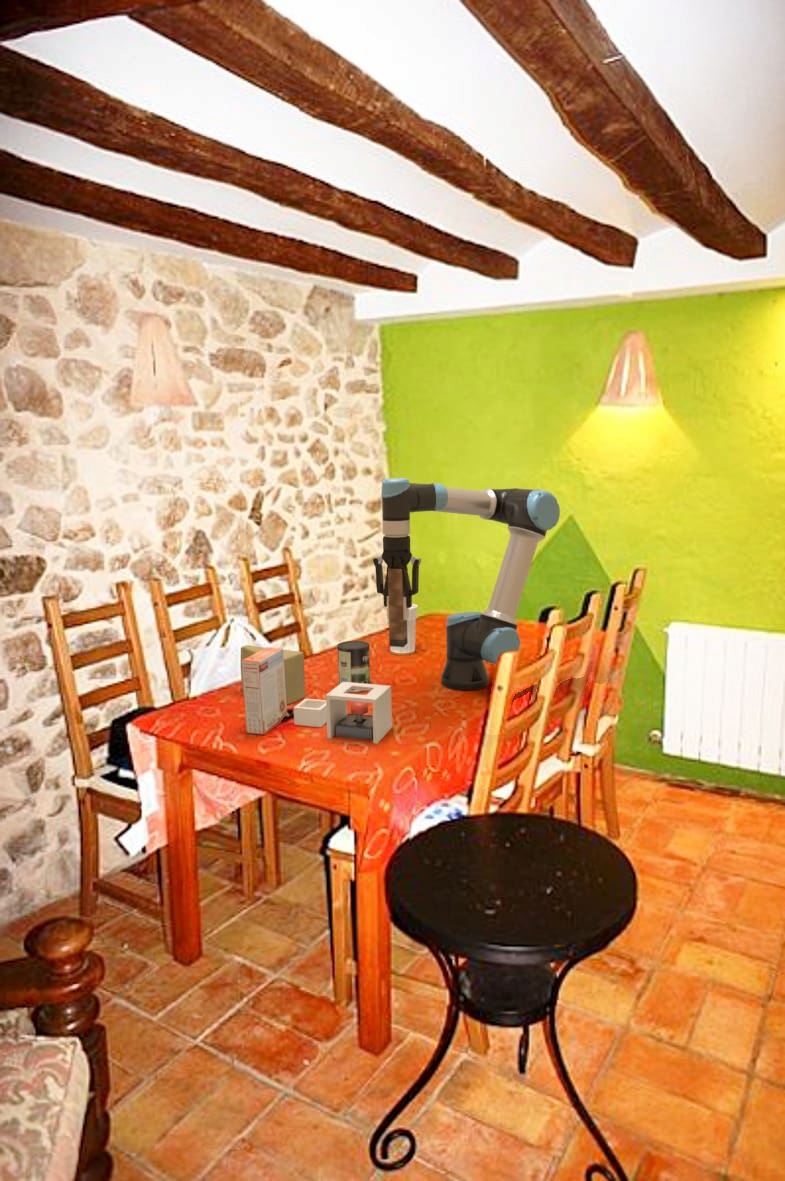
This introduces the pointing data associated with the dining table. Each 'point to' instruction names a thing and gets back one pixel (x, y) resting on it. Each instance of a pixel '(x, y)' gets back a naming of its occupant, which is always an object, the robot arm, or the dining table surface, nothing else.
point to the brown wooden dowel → (396, 608)
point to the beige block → (292, 672)
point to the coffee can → (354, 662)
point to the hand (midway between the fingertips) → (398, 618)
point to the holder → (310, 713)
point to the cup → (408, 634)
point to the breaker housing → (355, 727)
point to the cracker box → (264, 690)
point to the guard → (376, 696)
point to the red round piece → (359, 710)
